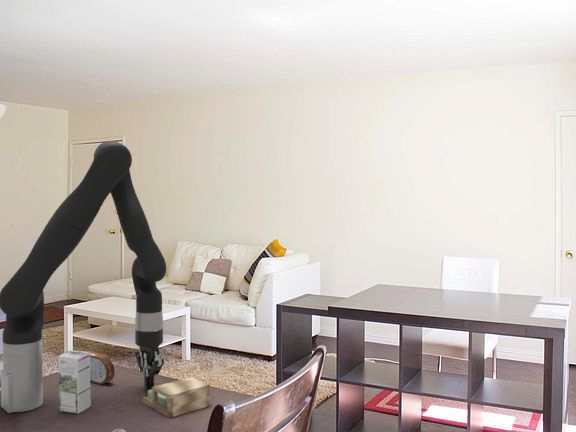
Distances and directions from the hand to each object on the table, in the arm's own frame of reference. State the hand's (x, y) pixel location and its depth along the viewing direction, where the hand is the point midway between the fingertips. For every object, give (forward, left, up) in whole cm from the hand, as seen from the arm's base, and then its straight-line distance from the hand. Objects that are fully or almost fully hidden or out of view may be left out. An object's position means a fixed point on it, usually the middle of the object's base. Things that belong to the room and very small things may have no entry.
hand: (149, 388), depth 161 cm
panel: (+1, -12, -1) cm, 12 cm away
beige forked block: (0, -13, -1) cm, 13 cm away
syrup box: (-21, +1, -1) cm, 21 cm away
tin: (-8, +19, -1) cm, 20 cm away
